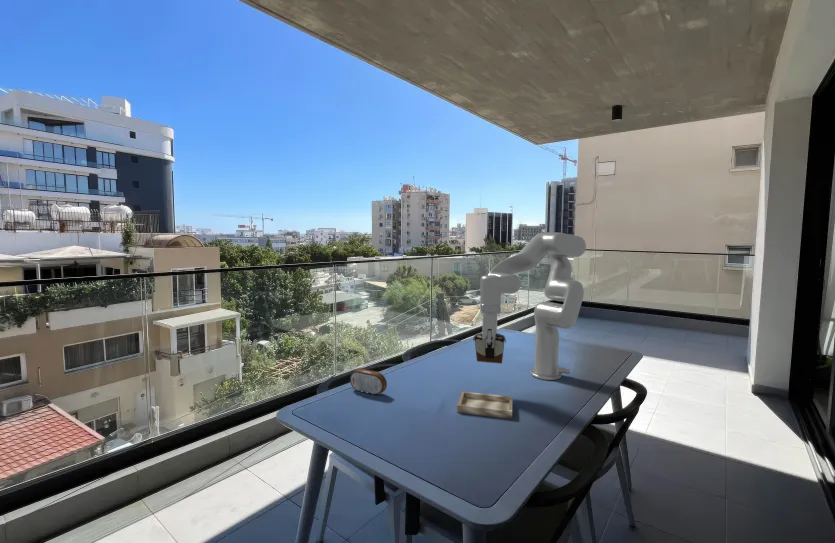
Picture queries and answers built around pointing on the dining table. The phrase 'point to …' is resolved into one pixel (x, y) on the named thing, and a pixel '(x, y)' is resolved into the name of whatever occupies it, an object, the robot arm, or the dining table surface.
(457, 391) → the dining table surface
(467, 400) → the holder tray
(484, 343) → the food container
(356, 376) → the tin
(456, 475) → the dining table surface
